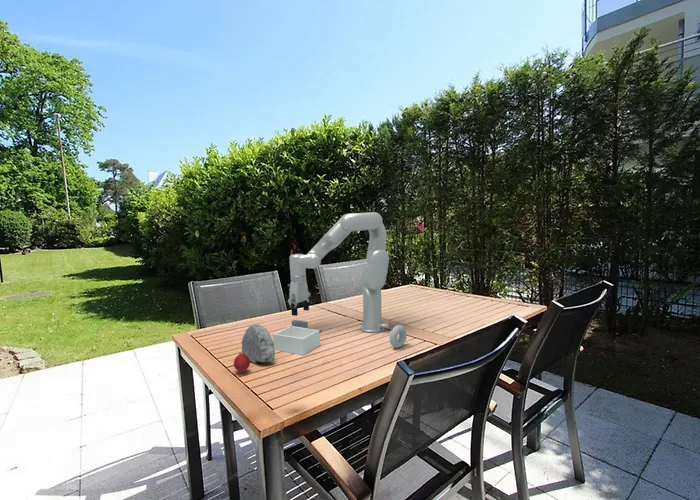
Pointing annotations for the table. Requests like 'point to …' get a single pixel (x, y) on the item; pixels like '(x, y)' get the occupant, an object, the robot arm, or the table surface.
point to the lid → (302, 324)
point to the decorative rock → (258, 344)
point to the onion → (241, 362)
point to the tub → (296, 340)
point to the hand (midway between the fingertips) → (300, 312)
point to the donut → (394, 334)
